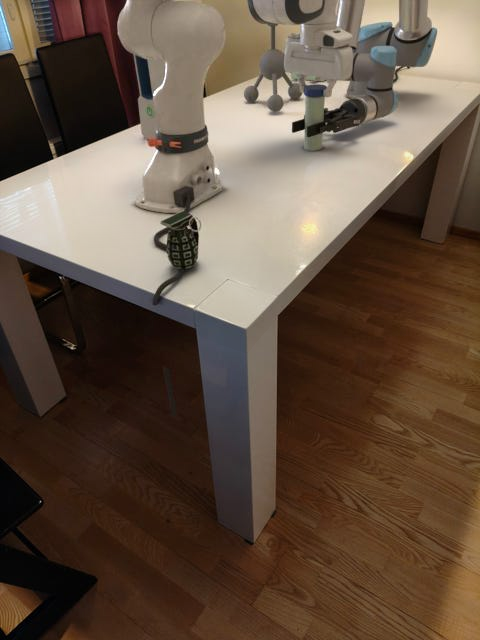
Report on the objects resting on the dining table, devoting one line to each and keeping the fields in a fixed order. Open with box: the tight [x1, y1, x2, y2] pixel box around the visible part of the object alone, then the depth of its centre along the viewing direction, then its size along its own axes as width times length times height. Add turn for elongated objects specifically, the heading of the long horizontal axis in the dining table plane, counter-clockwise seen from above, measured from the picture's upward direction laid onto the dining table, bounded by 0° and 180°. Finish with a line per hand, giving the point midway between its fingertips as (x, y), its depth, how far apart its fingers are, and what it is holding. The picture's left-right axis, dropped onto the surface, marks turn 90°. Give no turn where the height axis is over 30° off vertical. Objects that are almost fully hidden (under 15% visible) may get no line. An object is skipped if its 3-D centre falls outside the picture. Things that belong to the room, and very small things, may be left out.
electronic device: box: [133, 54, 166, 140], centre depth 143 cm, size 12×8×30 cm, turn 47°
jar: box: [303, 96, 326, 152], centre depth 135 cm, size 5×5×16 cm
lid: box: [303, 83, 328, 97], centre depth 130 cm, size 6×6×2 cm
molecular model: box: [243, 23, 303, 113], centre depth 169 cm, size 24×22×30 cm
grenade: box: [159, 211, 202, 271], centre depth 88 cm, size 7×6×10 cm
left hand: (315, 94), depth 131 cm, fingers open, 7 cm apart
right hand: (300, 129), depth 133 cm, fingers closed on jar, 5 cm apart
